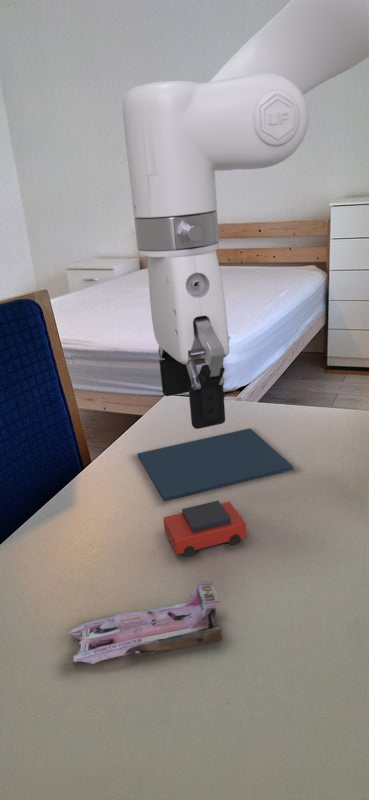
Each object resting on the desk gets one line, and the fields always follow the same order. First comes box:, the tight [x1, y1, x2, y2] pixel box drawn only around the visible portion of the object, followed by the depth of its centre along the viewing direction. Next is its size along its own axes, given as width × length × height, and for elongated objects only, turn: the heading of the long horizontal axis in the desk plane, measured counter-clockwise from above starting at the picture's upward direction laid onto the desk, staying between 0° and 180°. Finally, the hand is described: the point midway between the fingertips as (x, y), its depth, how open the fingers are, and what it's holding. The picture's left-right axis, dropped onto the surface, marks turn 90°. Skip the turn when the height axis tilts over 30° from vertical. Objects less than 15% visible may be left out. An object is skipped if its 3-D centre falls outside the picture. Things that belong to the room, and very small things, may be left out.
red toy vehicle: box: [163, 500, 248, 558], centre depth 66 cm, size 8×3×5 cm
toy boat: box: [68, 580, 222, 665], centre depth 52 cm, size 13×6×4 cm, turn 97°
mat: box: [137, 427, 294, 502], centre depth 83 cm, size 18×14×1 cm
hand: (192, 408), depth 61 cm, fingers open, 9 cm apart
